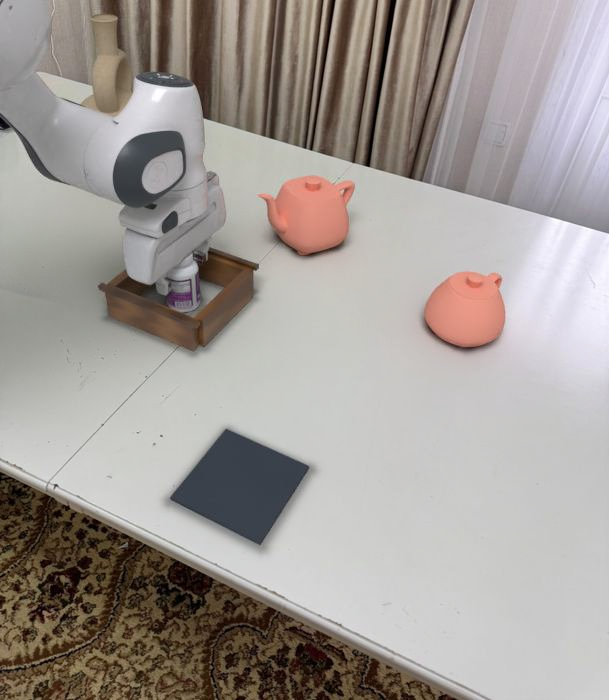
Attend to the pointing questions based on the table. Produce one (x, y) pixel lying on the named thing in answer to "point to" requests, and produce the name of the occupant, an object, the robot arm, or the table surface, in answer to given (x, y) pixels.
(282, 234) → the teapot
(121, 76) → the vase
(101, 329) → the table surface
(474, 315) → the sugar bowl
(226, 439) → the coaster
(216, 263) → the wooden square frame
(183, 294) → the pill bottle
